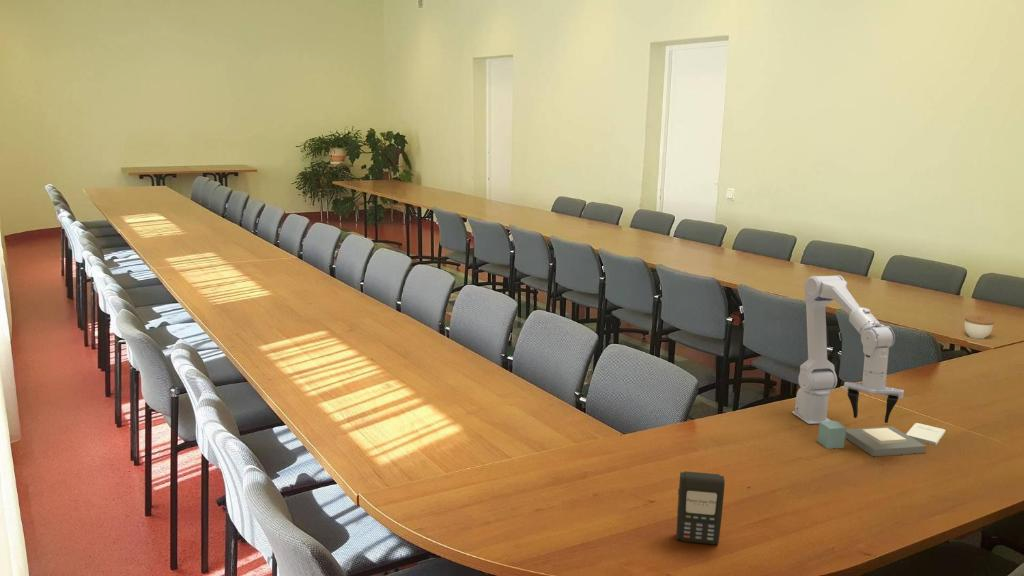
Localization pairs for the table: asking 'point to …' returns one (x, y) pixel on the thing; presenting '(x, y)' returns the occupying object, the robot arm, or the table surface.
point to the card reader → (700, 507)
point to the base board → (884, 441)
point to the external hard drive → (926, 433)
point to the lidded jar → (978, 326)
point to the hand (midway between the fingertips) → (870, 419)
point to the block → (831, 434)
